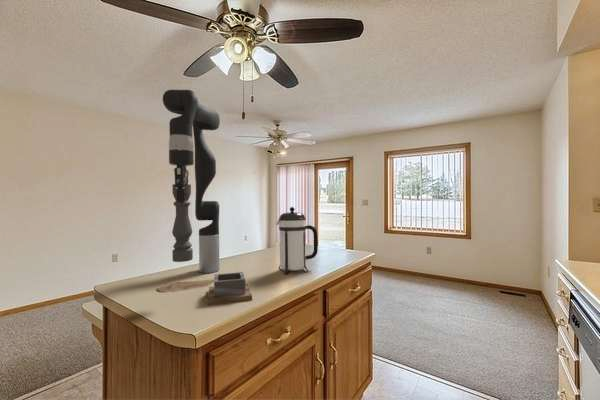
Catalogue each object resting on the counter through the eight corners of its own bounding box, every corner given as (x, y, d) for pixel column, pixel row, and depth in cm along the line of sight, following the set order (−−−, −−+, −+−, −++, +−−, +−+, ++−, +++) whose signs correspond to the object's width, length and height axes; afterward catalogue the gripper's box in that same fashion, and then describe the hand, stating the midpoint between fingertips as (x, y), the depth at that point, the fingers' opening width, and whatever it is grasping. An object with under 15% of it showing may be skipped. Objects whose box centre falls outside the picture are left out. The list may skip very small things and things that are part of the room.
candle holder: (168, 260, 90) (167, 184, 90) (184, 257, 96) (183, 185, 96) (181, 262, 87) (180, 183, 87) (196, 258, 93) (195, 184, 93)
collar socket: (209, 291, 101) (209, 273, 101) (247, 287, 105) (247, 270, 105) (207, 304, 88) (207, 284, 88) (252, 299, 92) (251, 280, 92)
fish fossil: (221, 277, 121) (221, 275, 121) (229, 285, 112) (230, 282, 112) (155, 287, 106) (155, 284, 106) (159, 297, 98) (159, 293, 98)
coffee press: (300, 277, 118) (299, 207, 119) (270, 272, 126) (269, 207, 127) (318, 268, 133) (317, 206, 134) (290, 264, 142) (289, 206, 142)
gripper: (172, 153, 97) (173, 201, 97) (164, 145, 83) (165, 201, 83) (195, 154, 99) (195, 201, 99) (191, 146, 85) (192, 201, 85)
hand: (181, 201), depth 91 cm, fingers closed on candle holder, 5 cm apart
